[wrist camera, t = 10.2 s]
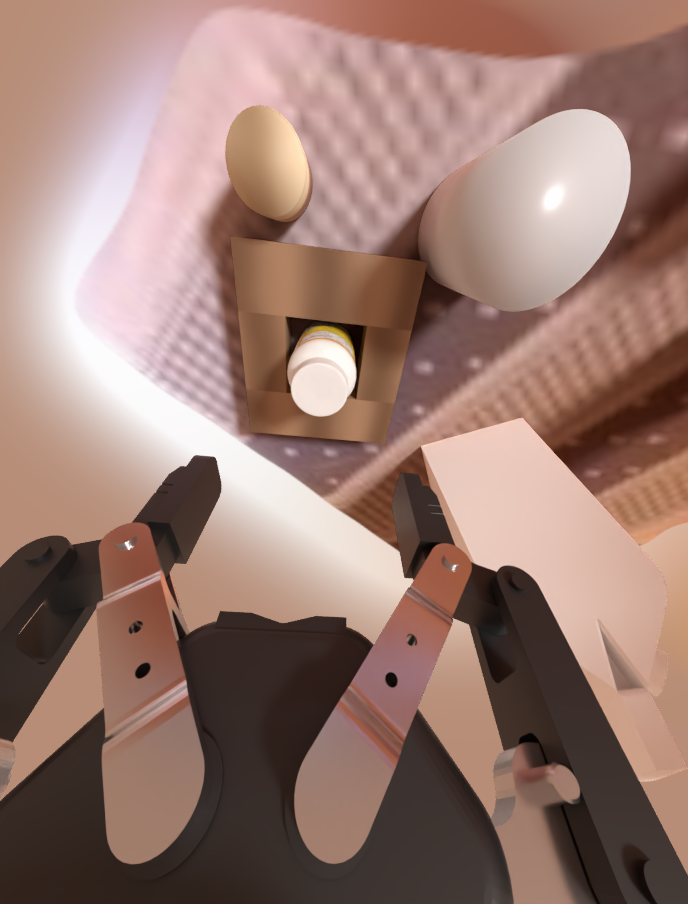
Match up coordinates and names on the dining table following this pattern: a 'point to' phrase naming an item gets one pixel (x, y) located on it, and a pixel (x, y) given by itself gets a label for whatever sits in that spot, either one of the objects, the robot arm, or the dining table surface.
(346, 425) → the board
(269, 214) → the short peg
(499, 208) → the white rounded capsule
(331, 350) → the supplement bottle
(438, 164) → the dining table surface
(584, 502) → the milk
